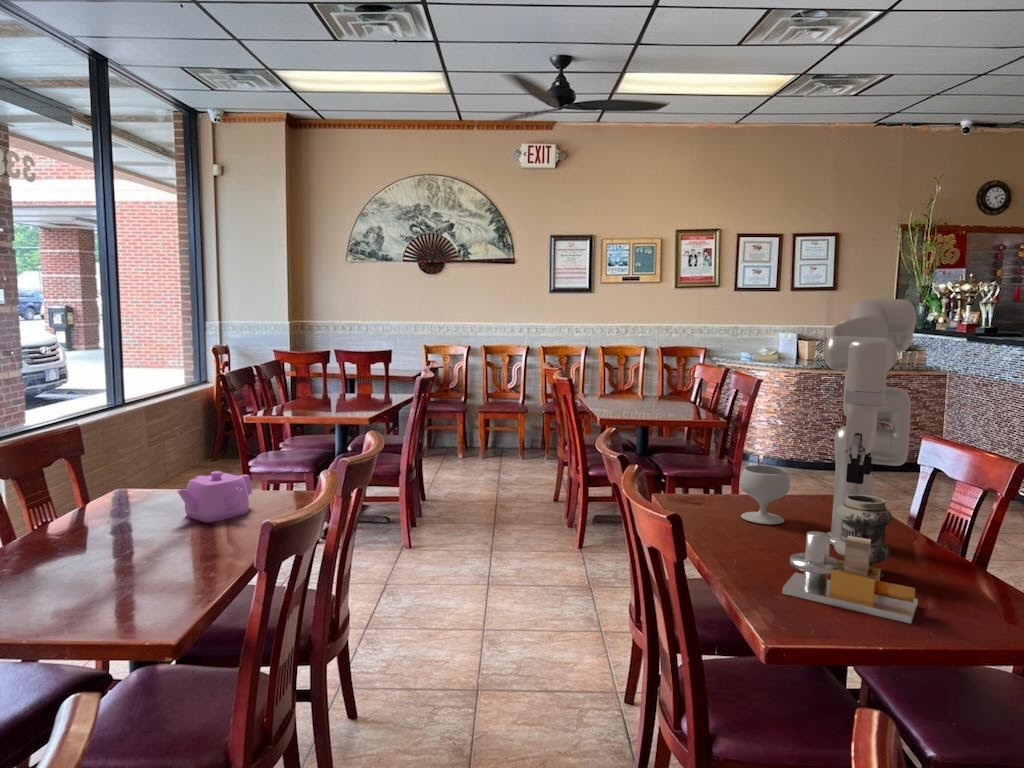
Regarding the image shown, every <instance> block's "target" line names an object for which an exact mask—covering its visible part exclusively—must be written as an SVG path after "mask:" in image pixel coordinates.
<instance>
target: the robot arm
mask: <svg viewBox="0 0 1024 768" xmlns="http://www.w3.org/2000/svg"><path fill="white" fill-rule="evenodd" d="M916 323H917V312H916V310H915V306H914V305H913V304H912V303H911V302H910V301H909V300H907V299H899V298H898V299H896V298H894V299H893V298H892V299H891V298H867V299H862V300H859V301H857V302H856V303H854V304H853V306H852V307H851V309H850V311H849V316H848V318H845V319H842V320H840V322H839V323H838V324H837V325H835V326H833V327H832V328H831V329H830V330H829V332H828V334H827V337H826V339H825V345H824V346H825V347H824V361H825V363H826V366H827V367H828V368H830V369H832V370H835V371H836V370H837V371H845V373H844V384H843V385H844V386H843V398H842V409H843V410H842V411H843V414H844V416H845V417H846V422H845V426H842V427H841V426H840V428H838V429H837V430H836V432H835V435H834V440H833V444H834V445H833V446H834V455H835V458H834V459H835V468H834V469H835V472H834V473H835V474H834V487H833V488H834V491H833V503H832V514H831V515H832V517H831V527H830V528H831V529H830V530H831V531H828V532H825V533H826V534H829V535H830V545H832V546H834V543H835V541H836V540H837V539H838V538H840V535H841V526H842V519H840V518H839V516H838V514H837V509H838V507H839V506H840V505H841V504H843V503H844V501H845V498H846V496H847V495H869V496H874V492H875V491H874V490H875V478H874V477H873V476H874V475H872V473H871V471H872V465H874V464H875V465H881V466H883V465H884V466H894V467H896V466H897V467H898V466H902V465H904V464H905V463H906V461H907V460H908V455H909V448H910V447H909V445H910V431H911V430H910V428H911V411H912V408H911V406H912V405H911V397H910V394H909V392H908V391H907V390H906V389H904V388H901V387H894V386H887V376H888V375H887V374H888V371H890V370H891V369H892V368H893V366H895V365H896V362H897V358H898V352H899V353H901V352H905V351H907V350H908V349H909V348H910V346H911V344H912V341H913V337H914V332H915V328H916ZM878 423H882V424H883V423H884V424H887V425H888V426H889V428H886V427H885V428H884V427H877V426H878V425H877V424H878Z"/></svg>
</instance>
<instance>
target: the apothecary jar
mask: <svg viewBox="0 0 1024 768" xmlns="http://www.w3.org/2000/svg"><path fill="white" fill-rule="evenodd" d="M837 514H838V516H839V518H840V519H842V526H841V535H840V538H838V539H837V540H836V541H835V543H834V545H833V548H834V550H835V552H836V553H837V554H838V555H839V556H840V557H842V558H843V559H844V558H845V545H846V539H847V537H848V536H852V537H858V538H864V539H870V540H871V545H870V557H869V566H871V567H875V565H874V564H879V563H882V562H885V561H886V560H888V559H889V557H890V554H891V550H890V548H889V546H888V544H886V540H885V539H886V526H888V525H889V524H890V523H891V522H892V520H893V515H892V513H891V512H890V511H889V510H888V509H887V506H886V501H885V499H884V498H881V497H878V496H875V495H873V496H869V495H847V496H846V498H845V501H844V503H843V504H841V505H840V506H839V507H838V509H837ZM883 576H884V572H883V571H882V570H881V571H880V579H881V578H883Z"/></svg>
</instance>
